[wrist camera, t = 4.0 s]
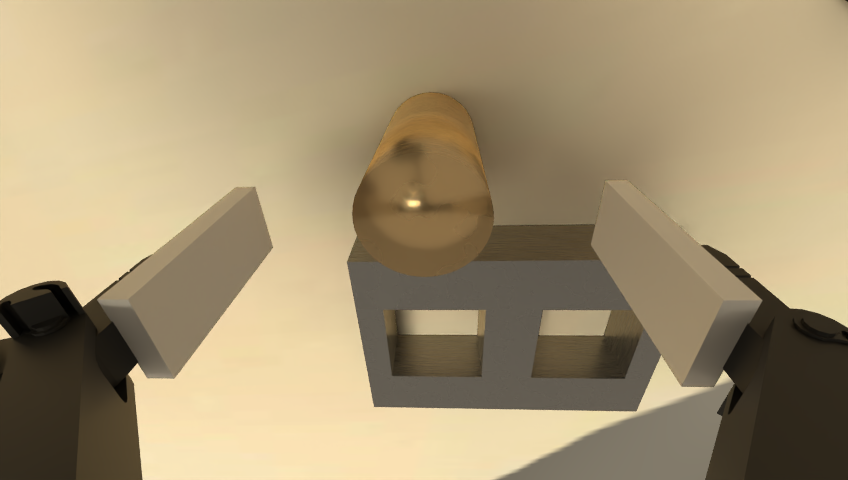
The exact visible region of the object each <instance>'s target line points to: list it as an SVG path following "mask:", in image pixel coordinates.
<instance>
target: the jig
mask: <svg viewBox="0 0 848 480" xmlns="http://www.w3.org/2000/svg"><path fill="white" fill-rule="evenodd" d="M594 229H595V225H535V226H493V228H492V232H491V235H490V237H489V240H488V242H487V244H486V245H485V247H484V248H483V250H482V251H481V252H480V253H479V255H478V256H477V257H476V258H474V259H473V260H472V261H471V262H470V263H468V264H467V265H465V266H464V267H462V268H460V269H458V270H456V271H453V272H451V273H448V274H444V275H440V276H433V277H417V276H410V275H406V274H402V273H399V272H396V271H394V270H391V269H389V268H387V267H385V266H384V265H382V264H381V263H379V262H378V261H377V260H376V259H374V258H373V257H372V256H371V255H370V254H369V253H368V252H367V251H366V249H365V248H364V247H363V245H362V244H361V242H360V240H359V238H358V236H357V238H356V240H355V243H354V245H353V248H352V251H351V253H350V256H349V258H348V261H347V264H348V269H349V275H350V280H351V285H352V291H353V296H354V301H355V307H356V312H357V318H358V323H359V328H360V334H361V339H362V344H363V350H364V355H365V360H366V366H367V371H368V376H369V382H370V387H371V393H372V398H373V403H374V407H414V408H472V409H530V410H587V411H637V409H638V406H639V404H640V402H641V399H642V397H643V395H644V393H645V390H646V388H647V386H648V384H649V381H650V379H651V377H652V374H653V372H654V370H655V368H656V365H657V363H658V361H659V359H660V356H661V354H660V352H659V351H658V349H657V347H656V346H655V344H654V343H653V341H652V340H651V338H650V337H649V335H648V333H647V332H646V330H645V329H644V327H643V326H642V324H641V323H640V321H639V319H638V318H637V316H636V315H635V313H634V312H633V310H632V308H631V307H630V305H629V304H628V302H627V301H626V299H625V298H624V296H623V294H622V293H621V291H620V290H619V288H618V287H617V285H616V283H615V282H614V280H613V279H612V277H611V276H610V274H609V273H608V271H607V269H606V268H605V266H604V265H603V263H602V262H601V260H600V258H599V257H598V255H597V254H596V252H595V251H594V249H593V248H592V246H591V242H592V237H593V233H594ZM395 310H479V312H478V332H477V336H473V335H398V332H397V323H396V314H395ZM543 310H612V311H611V314H610V318H609V321H608V324H607V327H606V331H605V334H604V336H538V334H539V328H540V322H541V316H542V311H543Z"/></svg>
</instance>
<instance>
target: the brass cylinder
mask: <svg viewBox="0 0 848 480" xmlns="http://www.w3.org/2000/svg"><path fill="white" fill-rule="evenodd" d="M352 215H353V224H354V228H355V231H356V234H357V236H358V238H359V240H360V242H361V244H362V245H363V247H364V248H365V249H366V251H367V252H368V253H369V254H370V255H371V256H372V257H373V258H374V259H376V260H377V261H378V262H379V263H381V264H382V265H384V266H385V267H387V268H389V269H391V270H394V271H396V272H399V273H402V274H406V275H410V276H417V277H433V276H440V275H444V274H448V273H451V272H453V271H456V270H458V269H460V268H462V267H464V266H465V265H467V264H468V263H470V262H471V261H472V260H473V259H474V258H476V257H477V256H478V255H479V253H480V252H481V251H482V250H483V248H484V247H485V245H486V244H487V242H488V240H489V237H490V235H491V232H492V228H493V221H494V211H493V205H492V200H491V196H490V192H489V188H488V184H487V180H486V176H485V172H484V168H483V164H482V160H481V156H480V152H479V148H478V144H477V140H476V136H475V131H474V127H473V124H472V121H471V118H470V116H469V114H468V113H467V111H466V109H465V108H464V107H463V106H462V105H461V104H460V103H459V102H458V101H456V100H455V99H453V98H451V97H449V96H447V95H444V94H441V93H432V92H429V93H422V94H418V95H415V96H413V97H411V98H409V99H408V100H406V101H405V102H404V103H402V104H401V105H400V107H399V108H398V109H397V110H396V112H395V113H394V115H393V117H392V119H391V121H390V123H389V125H388V127H387V129H386V132H385V134H384V136H383V138H382V140H381V142H380V144H379V146H378V148H377V150H376V152H375V154H374V157H373V159H372V161H371V163H370V165H369V167H368V169H367V171H366V173H365V175H364V177H363V179H362V182H361V184H360V186H359V188H358V190H357V193H356V195H355V198H354V203H353V212H352Z"/></svg>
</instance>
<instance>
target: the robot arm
mask: <svg viewBox="0 0 848 480" xmlns="http://www.w3.org/2000/svg"><path fill="white" fill-rule="evenodd" d="M591 246H592V248H593V249H594V251H595V252H596V254H597V255H598V257H599V258H600V260H601V262H602V263H603V265H604V266H605V268H606V269H607V271H608V273H609V274H610V276H611V277H612V279H613V280H614V282H615V283H616V285H617V287H618V288H619V290H620V291H621V293H622V294H623V296H624V298H625V299H626V301H627V302H628V304H629V305H630V307H631V308H632V310H633V312H634V313H635V315H636V316H637V318H638V319H639V321H640V323H641V324H642V326H643V327H644V329H645V330H646V332H647V333H648V335H649V337H650V338H651V340H652V341H653V343H654V344H655V346H656V347H657V349H658V351H659V352H660V354H661V355H662V357H663V358H664V360H665V362H666V363H667V365H668V366H669V368H670V369H671V371H672V372H673V374H674V376H675V377H676V379H677V380H678V382H679V383H680V385H681V387H714V386H715V384H716V383H717V381H718V379H719V377H720V375H721V374H722V372H723V370H724V371H725V372H726V373H727V374H728V376H729V377H730V378H731V379H732V381H733V382H734V383H735V384H734V385H733V387H732V389H731V390H730V392H729V394H728V395H727V397H726V399H725V401H724V402H723V404H722V405H721V407H720V409H719V410H718V412H717V414H719V415H721V416H722V420H721V424H720V427H719V431H718V435H717V438H716V442H715V446H714V449H713V453H712V457H711V460H710V464H709V468H708V471H707V475H706V479H705V480H848V328H847V327H845V326H844V325H842V324H840V323H839V322H837V321H835V320H833V319H831V318H828V317H826V316H823V315H821V314H818V313H815V312H811V311H807V310H802V309H790V308H789V307H787V306H786V305H785V304H784V303H783V302H782V301H780V300H779V299H778V298H777V297H776V296H774V295H773V294H772V293H771V292H770V291H768V290H767V289H766V288H765V287H764V286H763V285H761V284H760V283H759V282H758V281H757V280H755V279H754V278H751V275H750V274H748V273H747V272H746V271H745V270H744V269H742V268H739V267H740V266H739V265H738V264H736V263H735V262H734V261H733V260H732V259H731V258H729V257H728V256H727V255H726V254H724V253H722V252H720V251H718V250H716V249H714V248H712V247H710V246H708V245H700V244H699V243H698V242H696V241H695V240H694V239H693V238H692V237H691V236H690V235H689V234H687V233H686V232H685V231H684V230H683V229H682V228H681V227H680V226H678V225H677V224H676V223H675V222H674V221H673V220H672V219H671V218H669V217H668V216H667V215H666V214H665V213H664V212H663V211H662V210H660V209H659V208H658V207H657V206H656V205H655V204H654V203H653V202H651V201H650V200H649V199H648V198H647V197H646V196H645V195H644V194H643V193H641V192H640V191H639V190H638V189H637V188H636V187H635V186H634V185H632V184H631V183H630V182H629V181H628V180H605V184H604V189H603V193H602V198H601V202H600V207H599V211H598V215H597V220H596V224H595V229H594V233H593V237H592V242H591ZM272 248H273V246H272V242H271V239H270V236H269V232H268V229H267V225H266V222H265V219H264V215H263V212H262V209H261V205H260V202H259V199H258V195H257V192H256V188H255V187H236V188H234V189H233V190H232V191H231V192H229V193H228V194H227V195H226V196H224V197H223V198H222V199H221V200H219V201H218V202H217V203H216V204H215V205H213V206H212V207H211V208H210V209H208V210H207V211H206V212H205V213H203V214H202V215H201V216H200V217H198V218H197V219H196V220H195V221H193V222H192V223H191V224H190V225H189V226H187V227H186V228H185V229H184V230H182V231H181V232H180V233H179V234H177V235H176V236H175V237H174V238H172V239H171V240H170V241H169V242H167V243H166V244H165V245H164V246H163V247H161V248H160V249H159V250H158V251H156V252H155V253H154V254H152V255H150V256H148V257H146V258H144V259H143V260H141V261H140V262H139V263H138V264H136V265H135V266H134V267H133V268H131V269H130V272H126V273H125V274H124V275H122V276H121V277H120V278H119V281H115V282H114V283H112V284H111V285H110V286H109V287H107V288H106V289H105V290H104V291H102V292H101V293H100V294H99V295H97V296H96V297H95V298H94V299H92V300H91V301H90V302H89V303H87V304H86V305H85V306H84V307H82V306H81V304H80V303H79V301H78V300H77V298H76V297H75V296H74V294H73V293H72V291H71V290H70V288H69V287H68V285H67V284H66V282H62V281H47V282H43V283H39V284H35V285H32V286H29V287H26V288H23V289H21V290H18V291H16V292H14V293H12V294H10V295H8V296H6V297H5V298H3V299H2V300H1V301H0V324H1V325H2V327H3V328H4V329H5V330H6V331H7V332H8V334H9V335H10V336H11V337H12V338H8V339H3V340H0V480H142V470H141V459H140V448H139V437H138V426H137V415H136V404H135V393H134V383H133V381H132V380H131V378H130V376H129V375H128V373H129V372H130V371H131V370H132V369H133V368H134V366H135V365H136V364H137V363H138V364H139V366H140V367H141V369H142V370H143V372H144V374H145V375H146V377H147V378H171V379H174V378H175V377H176V376H177V374H178V373H179V372H180V370H181V369H182V368H183V366H184V365H185V364H186V362H187V361H188V360H189V359H190V357H191V356H192V355H193V353H194V352H195V351H196V349H197V348H198V347H199V345H200V344H201V343H202V341H203V340H204V339H205V337H206V336H207V335H208V333H209V332H210V331H211V329H212V328H213V327H214V325H215V324H216V323H217V321H218V320H219V319H220V317H221V316H222V315H223V313H224V312H225V311H226V309H227V308H228V307H229V305H230V304H231V303H232V301H233V300H234V299H235V297H236V296H237V295H238V293H239V292H240V291H241V289H242V288H243V287H244V285H245V284H246V283H247V281H248V280H249V279H250V277H251V276H252V275H253V273H254V272H255V271H256V269H257V268H258V267H259V265H260V264H261V263H262V261H263V260H264V259H265V257H266V256H267V255H268V253H269V252H270V251H271V249H272Z"/></svg>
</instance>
